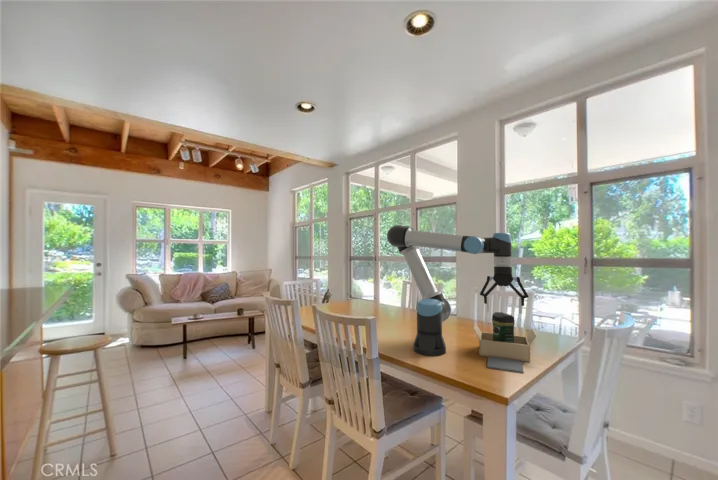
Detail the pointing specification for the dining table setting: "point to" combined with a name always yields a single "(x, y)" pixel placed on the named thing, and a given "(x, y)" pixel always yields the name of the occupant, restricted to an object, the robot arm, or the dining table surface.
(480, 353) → the carton
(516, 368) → the mat
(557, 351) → the dining table surface
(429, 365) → the dining table surface
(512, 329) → the coffee jar
